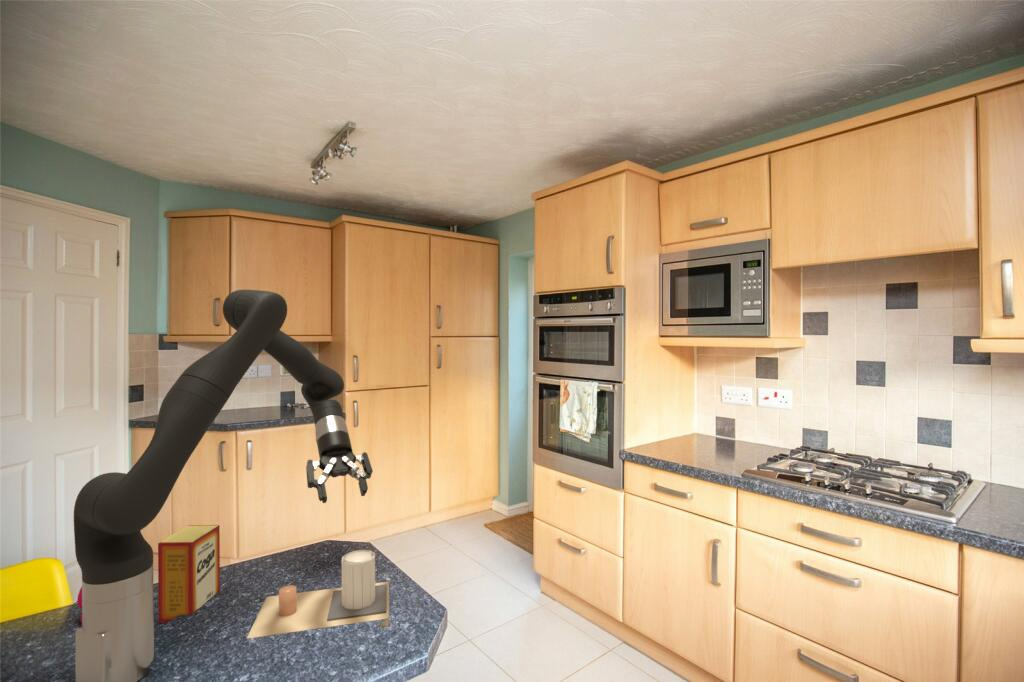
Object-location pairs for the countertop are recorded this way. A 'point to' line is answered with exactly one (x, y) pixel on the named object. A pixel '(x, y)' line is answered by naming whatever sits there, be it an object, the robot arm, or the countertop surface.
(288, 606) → the peach rounded knob
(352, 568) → the cover cup
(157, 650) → the countertop surface
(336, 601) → the board
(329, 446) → the robot arm
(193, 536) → the red cream cardboard box
